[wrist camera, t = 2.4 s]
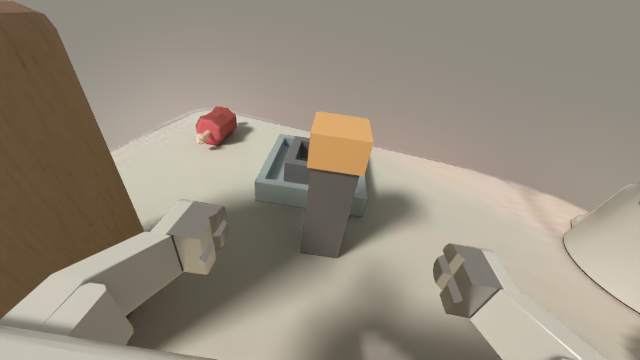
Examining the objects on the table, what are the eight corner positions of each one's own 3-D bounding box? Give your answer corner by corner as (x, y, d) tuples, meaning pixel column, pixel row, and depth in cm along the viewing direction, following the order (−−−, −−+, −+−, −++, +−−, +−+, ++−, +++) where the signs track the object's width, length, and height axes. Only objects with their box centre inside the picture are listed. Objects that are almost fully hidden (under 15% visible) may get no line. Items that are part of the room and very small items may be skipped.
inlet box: (357, 161, 43) (363, 138, 40) (361, 216, 32) (370, 189, 29) (279, 149, 43) (280, 125, 40) (255, 200, 32) (254, 171, 29)
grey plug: (340, 228, 29) (368, 118, 21) (340, 261, 26) (373, 142, 18) (303, 223, 29) (316, 110, 21) (297, 254, 26) (310, 132, 18)
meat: (218, 119, 49) (222, 96, 46) (241, 129, 49) (247, 108, 46) (182, 146, 39) (184, 119, 36) (211, 158, 39) (216, 133, 37)
